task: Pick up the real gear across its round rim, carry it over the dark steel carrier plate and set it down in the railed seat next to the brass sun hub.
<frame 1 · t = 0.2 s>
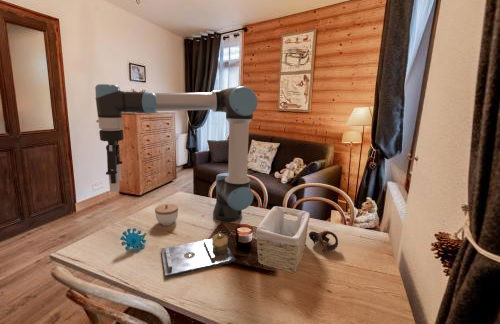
hand: (116, 185, 94), 26 cm above the table, fingers open, 13 cm apart
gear: (135, 248, 101), on the table
storage basket: (282, 253, 99), on the table
lidded jar: (167, 222, 122), on the table
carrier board: (197, 256, 96), on the table
dark brown ring ornament: (322, 247, 105), on the table
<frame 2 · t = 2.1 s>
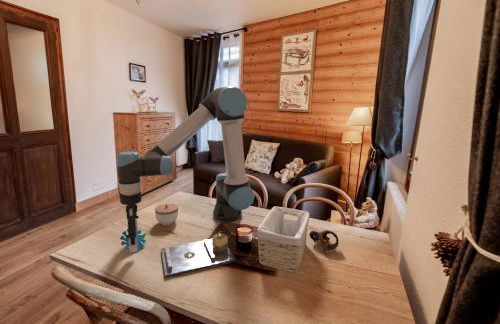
hand: (134, 242, 100), 2 cm above the table, fingers open, 13 cm apart
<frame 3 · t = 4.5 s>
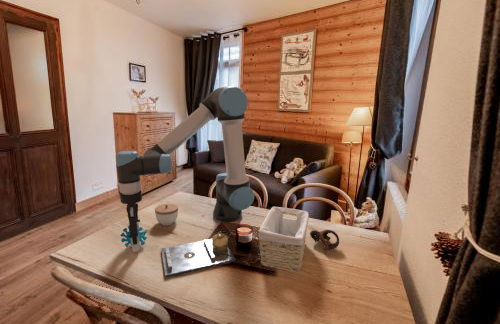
hand: (136, 243, 100), 1 cm above the table, fingers closed on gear, 9 cm apart
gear: (136, 244, 100), point 1 cm above the table, touching gripper
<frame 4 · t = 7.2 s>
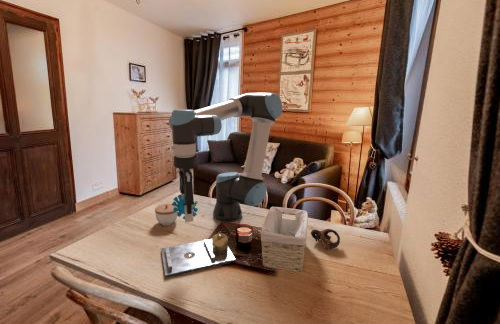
hand: (187, 215, 91), 17 cm above the table, fingers closed on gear, 9 cm apart
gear: (186, 216, 91), point 17 cm above the table, touching gripper
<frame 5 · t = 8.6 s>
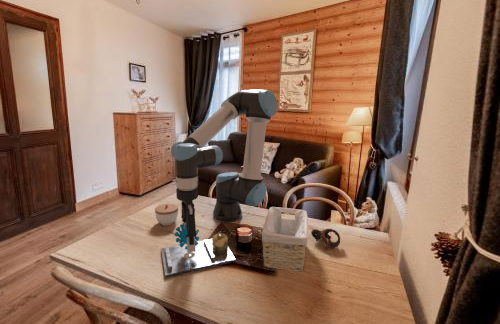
hand: (188, 244, 93), 6 cm above the table, fingers closed on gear, 9 cm apart
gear: (188, 245, 93), point 5 cm above the table, touching gripper
when the fingers open (2 cm above the table, at t = 9.7 s): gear stays where it is, resting on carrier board.
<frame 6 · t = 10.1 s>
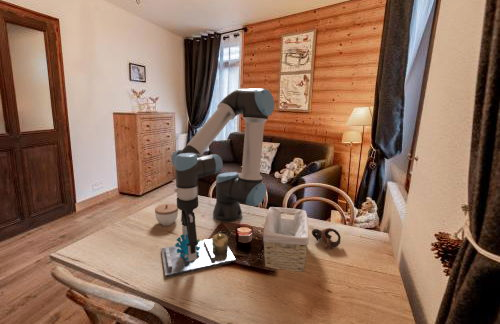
hand: (189, 249, 94), 3 cm above the table, fingers open, 13 cm apart
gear: (189, 255, 94), point 1 cm above the table, touching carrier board
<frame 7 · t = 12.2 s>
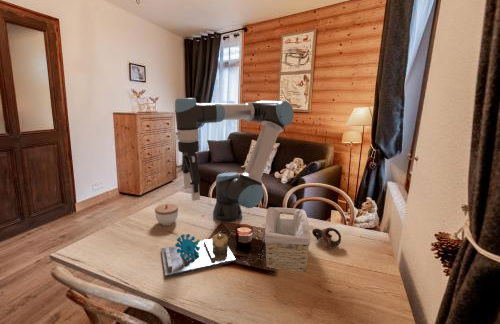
hand: (191, 193, 98), 23 cm above the table, fingers open, 13 cm apart
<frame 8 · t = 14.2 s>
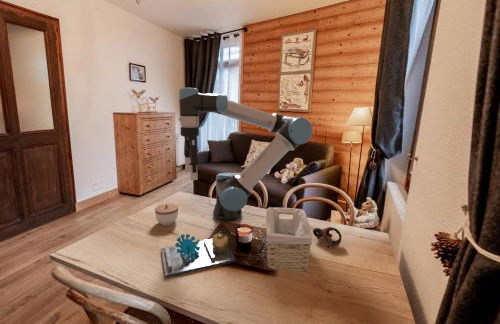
hand: (191, 175, 108), 27 cm above the table, fingers open, 13 cm apart
at the end: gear inside the target area on the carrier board (0.4 cm from its centre), point 1.1 cm above the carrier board's base; the gripper is holding nothing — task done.
